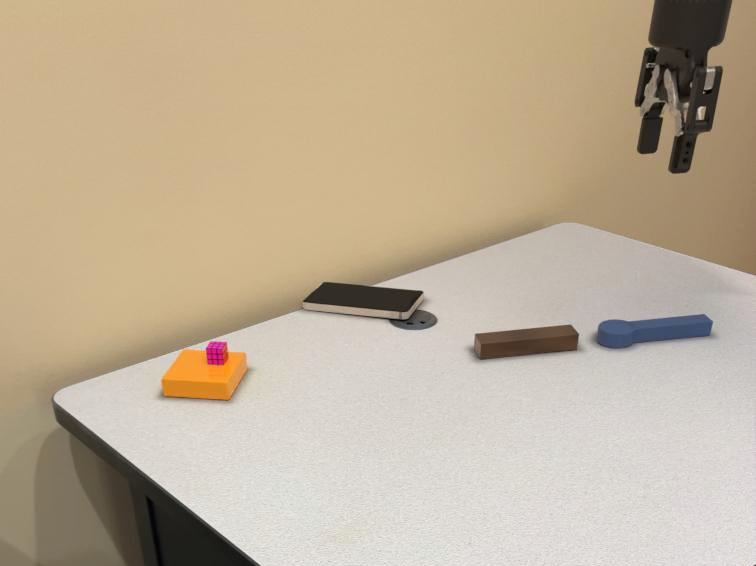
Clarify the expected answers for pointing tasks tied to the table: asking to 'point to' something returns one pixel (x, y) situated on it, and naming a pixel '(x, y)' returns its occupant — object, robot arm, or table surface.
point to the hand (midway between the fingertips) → (661, 162)
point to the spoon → (651, 330)
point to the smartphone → (364, 300)
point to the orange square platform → (205, 373)
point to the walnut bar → (526, 341)
